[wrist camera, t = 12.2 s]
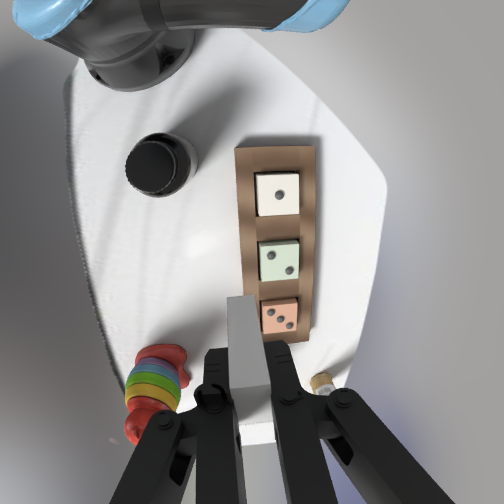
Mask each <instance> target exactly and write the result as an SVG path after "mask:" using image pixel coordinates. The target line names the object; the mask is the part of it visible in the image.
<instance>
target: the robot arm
mask: <svg viewBox="0 0 504 504" xmlns="http://www.w3.org/2000/svg"><path fill="white" fill-rule="evenodd" d="M349 1H350V0H14V2H13V10H12V11H13V12H12V13H13V18H14V21H15V22H16V24H17V25H18V26H19V27H20V28H21V29H23V30H25V31H27V32H29V33H30V34H31V35H32V36H33V38H35V39H38V40H44V41H46V42H49V43H51V44H53V45H55V46H58V47H60V48H62V49H64V50H66V51H68V52H70V53H72V54H74V55H76V56H78V57H80V58H82V59H84V62H85V64H86V66H87V68H88V71H89V72H90V74H91V75H92V77H93V78H94V79H95V80H96V81H98V82H99V83H100V84H102V85H104V86H106V87H108V88H111V89H113V90H117V91H123V92H133V91H139V90H144V89H147V88H150V87H152V86H155V85H157V84H159V83H161V82H162V81H164V80H165V79H167V78H168V77H170V76H171V75H172V74H173V73H175V72H176V71H177V70H178V69H179V68H180V67H181V65H182V64H183V63H184V62H185V60H186V59H187V57H188V56H189V54H190V52H191V49H192V47H193V44H194V38H195V29H198V28H247V29H261V30H262V31H265V32H273V31H278V30H279V31H291V32H301V33H308V32H313V31H316V30H318V29H322V28H324V27H326V26H327V25H329V24H330V23H331V22H333V21H334V20H335V18H337V17H338V16H339V15H340V13H341V12H342V11H343V10H344V8H345V7H346V5H347V4H348V3H349ZM227 325H228V347H227V348H216V349H209V351H208V352H207V354H206V355H205V359H204V375H203V384H201V385H199V386H198V387H197V388H196V389H195V392H194V398H195V401H196V403H197V406H196V407H195V408H193V409H191V410H189V411H186V412H182V413H179V414H177V413H176V412H175V411H172V410H165V409H164V410H160V411H157V412H156V413H154V414H153V415H152V416H151V418H150V419H149V421H148V423H147V425H146V427H145V429H144V431H143V433H142V435H141V438H140V440H139V442H138V444H137V446H136V448H135V450H134V452H133V454H132V457H131V458H130V461H129V463H128V465H127V467H126V469H125V471H124V473H123V476H122V477H121V480H120V482H119V484H118V486H117V488H116V490H115V492H114V495H113V497H112V499H111V501H110V503H109V504H181V501H182V497H183V495H184V491H185V489H186V486H187V482H188V479H189V477H190V473H191V471H192V467H193V464H194V461H195V458H196V504H247V499H246V489H245V480H244V470H243V458H242V447H241V436H240V433H239V426H240V425H250V424H258V423H266V422H273V423H274V431H275V440H276V443H277V449H278V454H279V460H280V465H281V471H282V476H283V482H284V487H285V493H286V499H287V504H338V501H337V498H336V495H335V491H334V487H333V484H332V480H331V477H330V473H329V470H328V466H327V463H326V460H325V456H324V453H323V449H322V446H321V443H320V439H323V440H324V442H325V444H326V445H327V446H328V448H329V450H330V451H331V452H332V454H333V456H334V457H335V459H336V460H337V462H338V463H339V464H340V466H341V467H342V469H343V470H344V471H345V473H346V475H347V476H348V477H349V479H350V480H351V482H352V483H353V485H354V486H355V487H356V489H357V490H358V491H359V493H360V494H361V496H362V497H363V499H364V500H365V501H366V503H367V504H455V503H454V502H453V501H452V500H451V499H450V498H449V497H448V495H447V494H446V493H445V492H444V491H443V490H442V489H441V488H440V487H439V486H438V485H437V483H436V482H435V481H434V480H433V479H432V478H431V477H430V475H429V474H428V473H427V472H426V471H425V470H424V469H423V468H422V466H421V465H420V464H419V463H418V462H417V461H416V460H415V459H414V457H413V456H412V455H411V454H410V453H409V452H408V451H407V449H406V448H405V447H404V446H403V445H402V444H401V443H400V442H399V440H398V439H397V438H396V437H395V436H394V435H393V434H392V433H391V431H390V430H389V429H388V428H387V427H386V426H385V425H384V423H383V422H382V421H381V420H380V419H379V417H378V416H377V415H376V414H375V413H374V412H373V411H372V410H371V408H370V407H369V406H368V405H367V404H366V403H365V402H364V400H363V399H362V398H361V397H360V396H359V394H358V393H356V392H355V391H354V390H352V389H348V388H339V389H335V390H334V391H332V392H331V393H330V394H329V395H315V394H311V393H308V392H307V391H305V390H304V389H303V388H302V387H301V384H300V382H299V378H298V375H297V372H296V368H295V365H294V362H293V358H292V355H291V352H290V348H289V346H288V345H287V344H286V343H285V342H284V341H283V340H278V341H271V342H263V341H262V336H261V330H260V325H259V320H258V314H257V309H256V304H255V298H254V294H253V295H245V296H237V297H228V298H227Z"/></svg>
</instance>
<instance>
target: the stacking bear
mask: <svg viewBox="0 0 504 504" xmlns="http://www.w3.org/2000/svg"><path fill="white" fill-rule="evenodd" d="M186 358H187V355H186V351H185V350H184V349H182V348H181V347H180V346H177V345H170V344H161V345H154V346H150V347H147V348H145V349H143V350H141V351H140V352H139V353H138V354H137V356H136V359H135V367H134V368H133V370H132V371H131V373H130V374H129V376H128V379H127V382H126V388H125V392H126V393H125V402H126V406H127V408H128V411H129V412H130V414H129V416H128V417H127V419H126V421H125V427H124V430H125V434H126V436H127V438H128V439H129V440H130V441H131V442H132V443H133V444H135V445H136V446H137V444H138V442H139V440H140V438H141V435H142V433H143V431H144V429H145V427H146V425H147V423H148V421H149V419H150V418H151V416H152V415H153V414H154V413H156V412H157V411H160V410H164V409H165V410H172V411H175V412H176V409H177V407H178V405H179V402H180V398H181V389H184V388H185V387H187V386H188V385H189V379H190V378H189V376H188V375H187V374H186V373H185V372H184V370H183V366H182V365H183V364H184V362H185V360H186Z"/></svg>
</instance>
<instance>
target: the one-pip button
mask: <svg viewBox="0 0 504 504" xmlns="http://www.w3.org/2000/svg"><path fill="white" fill-rule="evenodd" d="M255 179H256V200H257V212H258V214H259V216H272V215H289V214H299V174H297V173H294V172H280V173H257V174H255Z"/></svg>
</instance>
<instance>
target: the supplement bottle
mask: <svg viewBox="0 0 504 504" xmlns="http://www.w3.org/2000/svg"><path fill="white" fill-rule="evenodd" d="M197 165H198V157H197V153H196V150H195V148H194V147H193V145H192V144H191V143H190V142H189V141H187V140H186V139H184V138H182V137H179V136H176V135H172V134H169V133H153V134H150V135H148V136H146V137H144V138H142V139H141V140H140V141H139V142H138V143H137V144H136V145H135V146H134V148H133V149H132V151H131V152H130V155H129V156H128V159H127V160H126V165H125V167H126V170H125V172H126V176H127V178H128V181H129V182H130V184H131V185H132V186H133V187H134V188H135V189H137V190H138V191H140V192H141V193H143V194H145V195H147V196H150V197H155V198H162V197H167V196H170V195H172V194H174V193H176V192H177V191H178V190H180V189H181V188H182V187H183V186H184V185H185V184H186V183H188V182H189V181H190V180H191V178H192V177H193V176H194V174H195V172H196V169H197Z"/></svg>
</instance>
